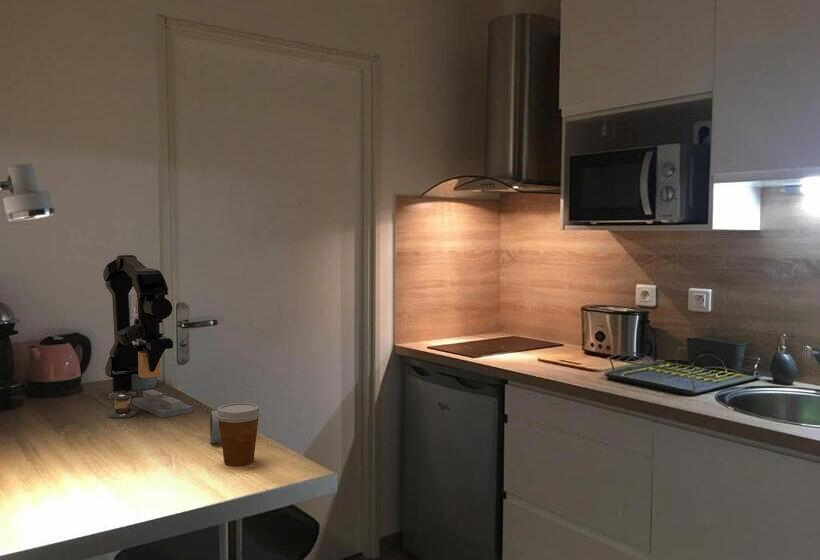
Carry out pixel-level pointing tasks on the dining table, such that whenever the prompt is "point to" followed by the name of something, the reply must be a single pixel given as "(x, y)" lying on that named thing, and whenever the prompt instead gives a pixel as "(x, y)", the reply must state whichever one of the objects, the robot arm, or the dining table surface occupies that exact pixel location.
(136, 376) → the grey green pot
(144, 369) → the orange tab
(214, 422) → the ceramic mug
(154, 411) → the notched board
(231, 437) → the disposable coffee cup
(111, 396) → the grey and brown spool
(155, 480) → the dining table surface
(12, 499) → the dining table surface
